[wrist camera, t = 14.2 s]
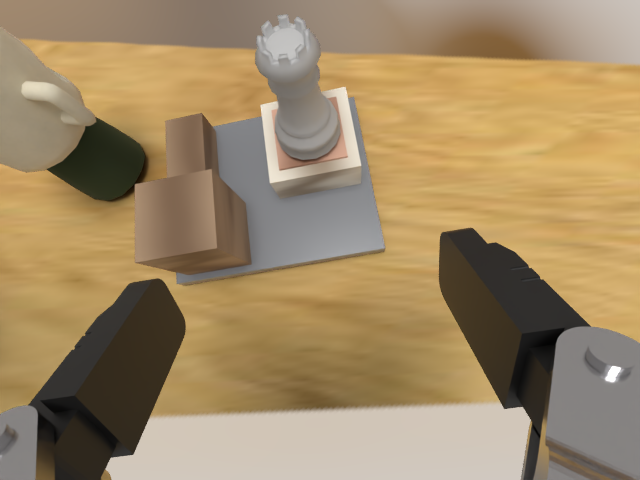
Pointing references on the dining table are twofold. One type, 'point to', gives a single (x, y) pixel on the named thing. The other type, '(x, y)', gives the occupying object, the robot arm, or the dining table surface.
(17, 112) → the character mug
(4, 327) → the dining table surface
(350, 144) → the white square block
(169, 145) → the walnut castle blocks
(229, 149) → the baseplate
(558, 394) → the robot arm
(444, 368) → the dining table surface
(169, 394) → the dining table surface
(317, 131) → the rook chess piece
